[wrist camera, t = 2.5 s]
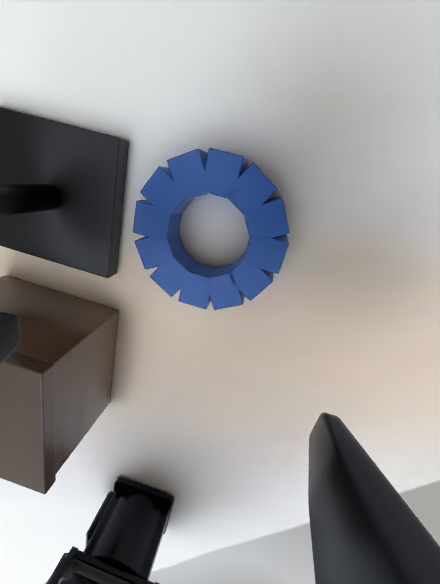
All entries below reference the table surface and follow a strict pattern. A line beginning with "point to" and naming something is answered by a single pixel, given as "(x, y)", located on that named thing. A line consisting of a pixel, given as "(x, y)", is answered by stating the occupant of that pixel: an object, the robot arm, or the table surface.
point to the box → (51, 379)
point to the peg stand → (61, 192)
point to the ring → (166, 219)
